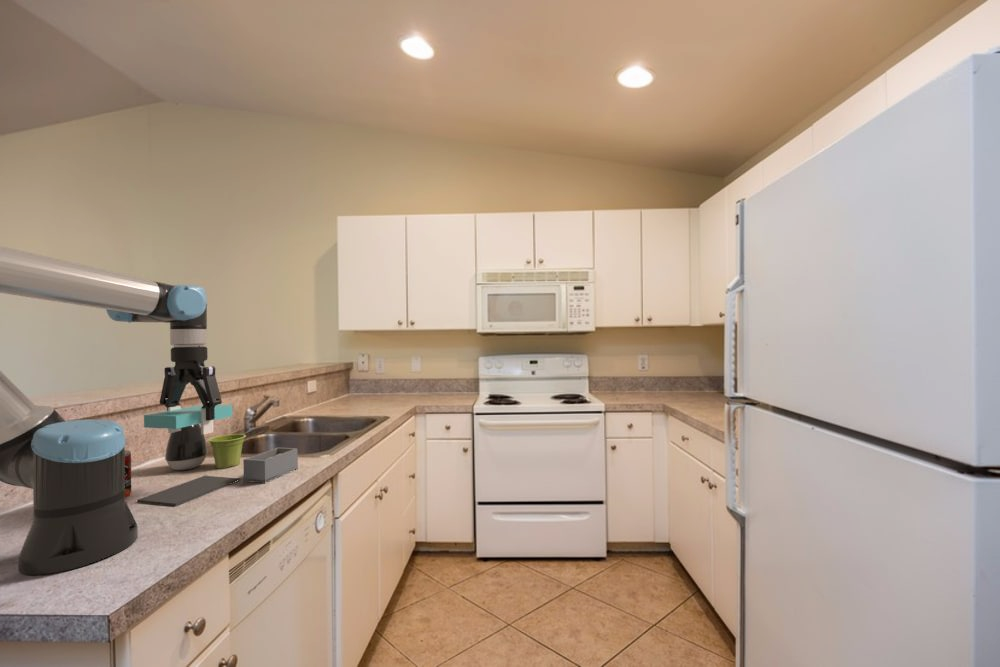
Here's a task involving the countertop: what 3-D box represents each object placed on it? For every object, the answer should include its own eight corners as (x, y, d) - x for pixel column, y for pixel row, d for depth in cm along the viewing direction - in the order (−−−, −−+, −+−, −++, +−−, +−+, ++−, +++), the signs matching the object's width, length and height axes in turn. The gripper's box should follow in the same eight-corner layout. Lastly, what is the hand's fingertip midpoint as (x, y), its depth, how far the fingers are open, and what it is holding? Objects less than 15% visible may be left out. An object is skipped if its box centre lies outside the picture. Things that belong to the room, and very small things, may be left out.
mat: (176, 506, 94) (176, 503, 94) (137, 502, 97) (137, 499, 97) (239, 480, 110) (239, 478, 110) (204, 477, 113) (204, 475, 113)
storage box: (297, 468, 119) (297, 448, 119) (265, 483, 108) (264, 460, 108) (278, 467, 121) (277, 447, 121) (243, 481, 109) (243, 459, 109)
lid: (232, 416, 110) (232, 405, 110) (176, 428, 95) (175, 416, 95) (203, 415, 112) (203, 404, 112) (144, 427, 98) (143, 415, 98)
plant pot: (220, 461, 128) (219, 434, 128) (251, 460, 129) (251, 433, 129) (202, 471, 119) (201, 442, 119) (236, 469, 120) (235, 440, 120)
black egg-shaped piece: (206, 460, 130) (205, 413, 130) (209, 467, 122) (208, 417, 122) (165, 467, 124) (164, 417, 124) (165, 475, 116) (164, 422, 116)
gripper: (237, 344, 105) (239, 430, 105) (170, 346, 110) (171, 427, 110) (210, 345, 97) (212, 437, 97) (140, 347, 103) (141, 434, 103)
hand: (190, 432), depth 104 cm, fingers closed on lid, 10 cm apart
